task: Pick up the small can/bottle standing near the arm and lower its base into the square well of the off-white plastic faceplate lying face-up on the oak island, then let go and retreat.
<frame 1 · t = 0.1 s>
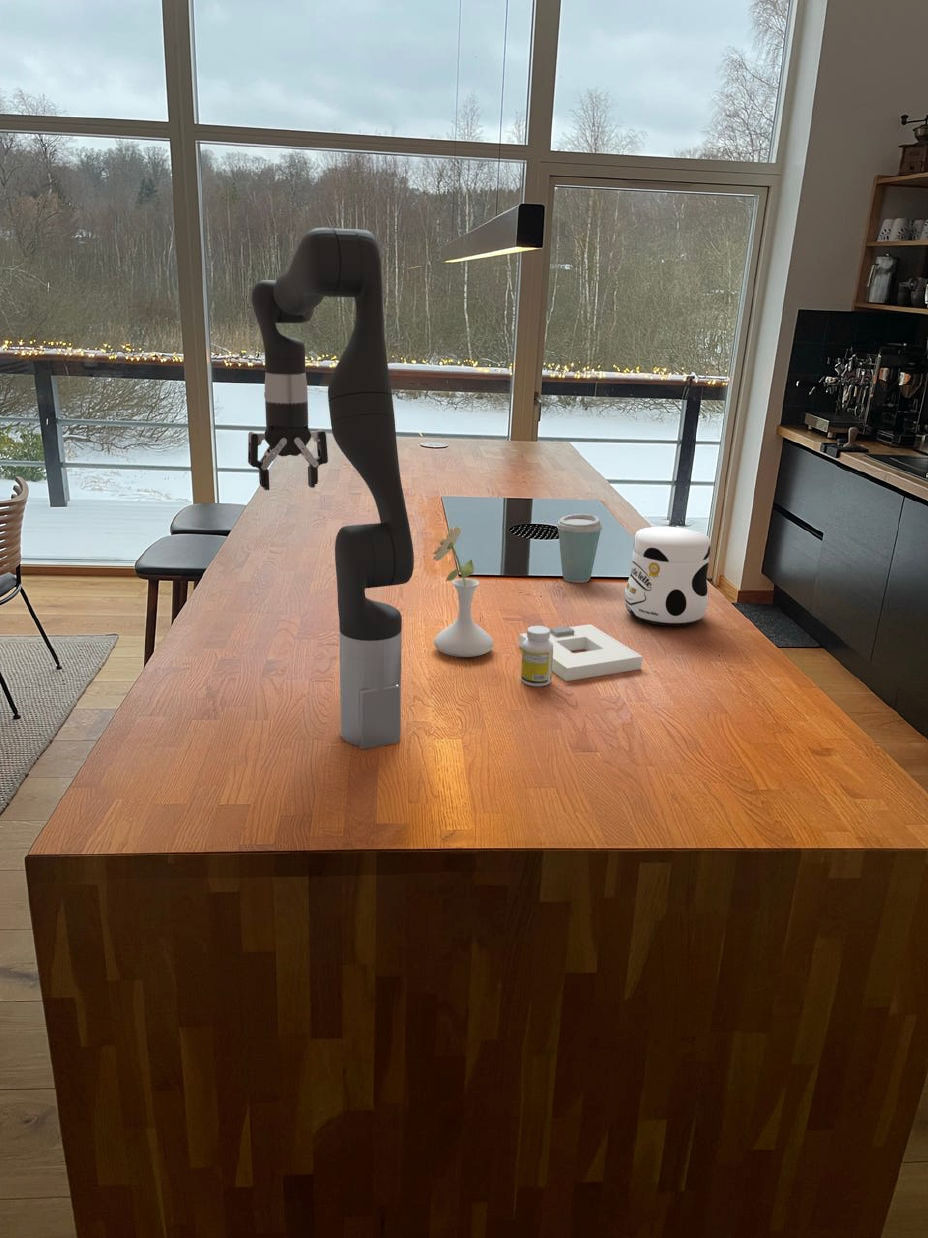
hand: (289, 488, 175), 29 cm above the countertop, fingers open, 8 cm apart
disposable coffee cup: (575, 579, 226), on the countertop
milk container: (663, 618, 202), on the countertop
supplement bottle: (535, 682, 168), on the countertop
flower in vase: (460, 653, 180), on the countertop
socket plate: (578, 657, 179), on the countertop
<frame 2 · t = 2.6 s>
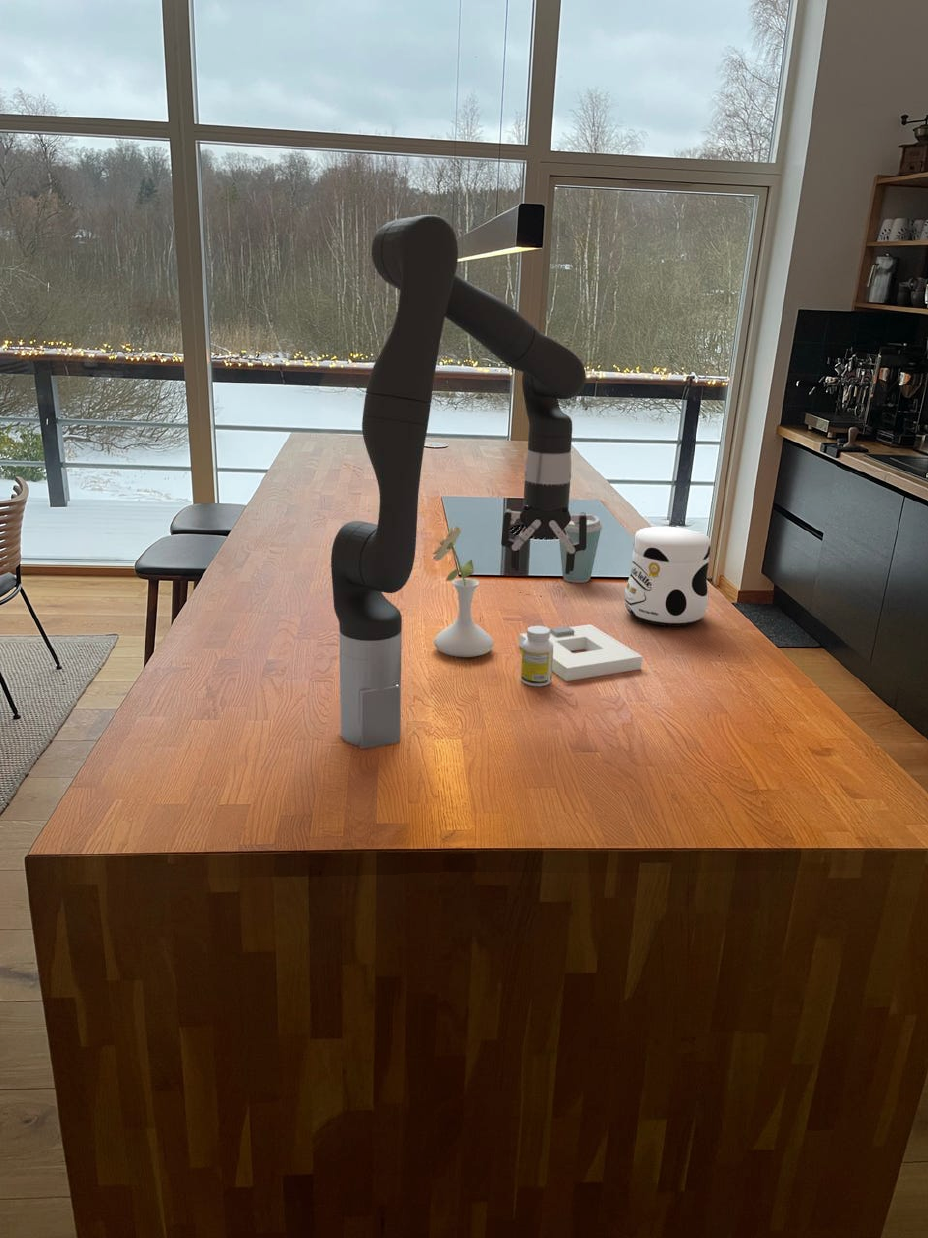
hand: (541, 571, 161), 20 cm above the countertop, fingers open, 8 cm apart
nothing on the countertop moved.
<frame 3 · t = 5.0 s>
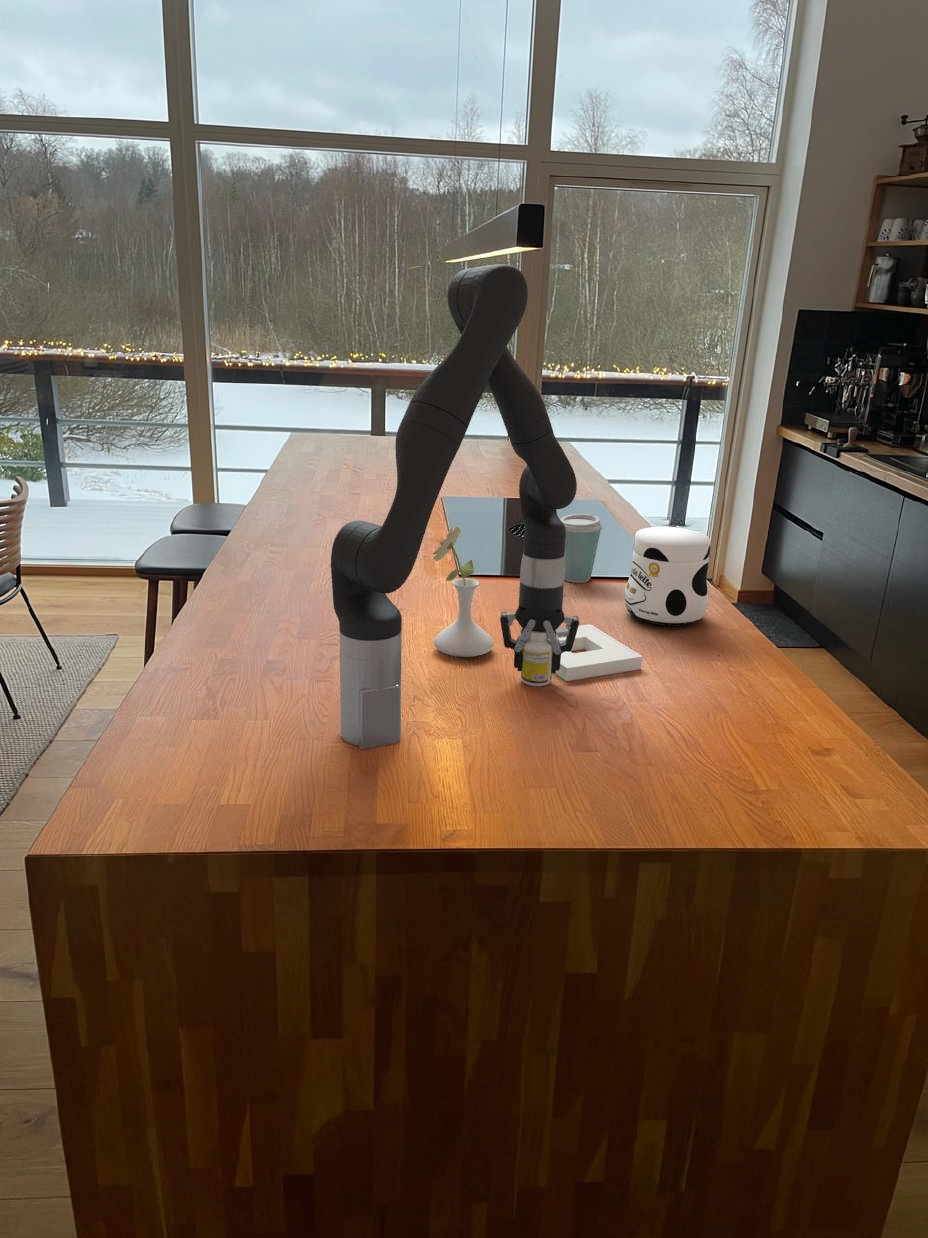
hand: (536, 670, 167), 2 cm above the countertop, fingers closed on supplement bottle, 5 cm apart
supplement bottle: (535, 682, 168), on the countertop, touching gripper
everything else where it was.
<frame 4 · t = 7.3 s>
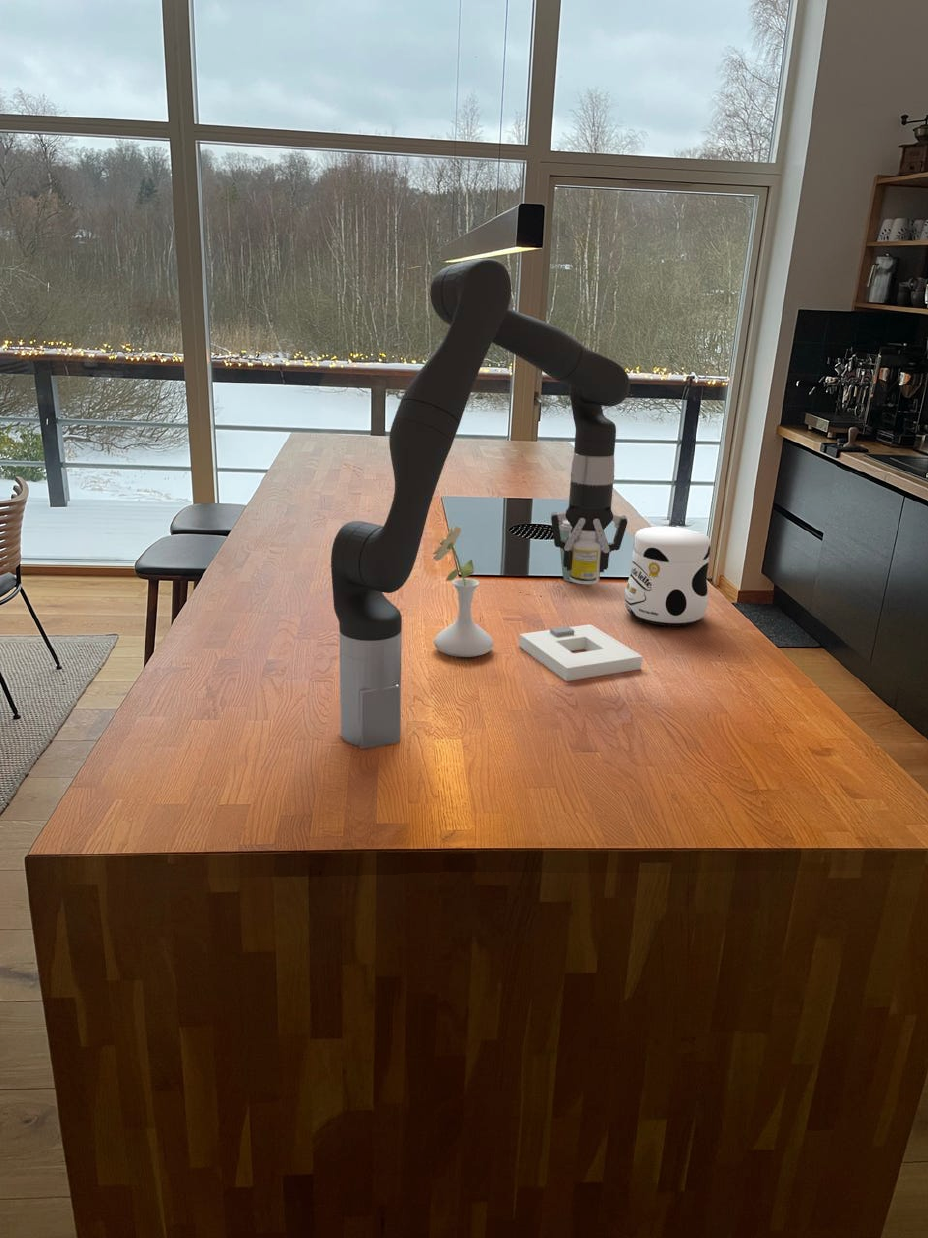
hand: (584, 570, 173), 17 cm above the countertop, fingers closed on supplement bottle, 5 cm apart
supplement bottle: (584, 581, 174), point 15 cm above the countertop, touching gripper
everything else where it was.
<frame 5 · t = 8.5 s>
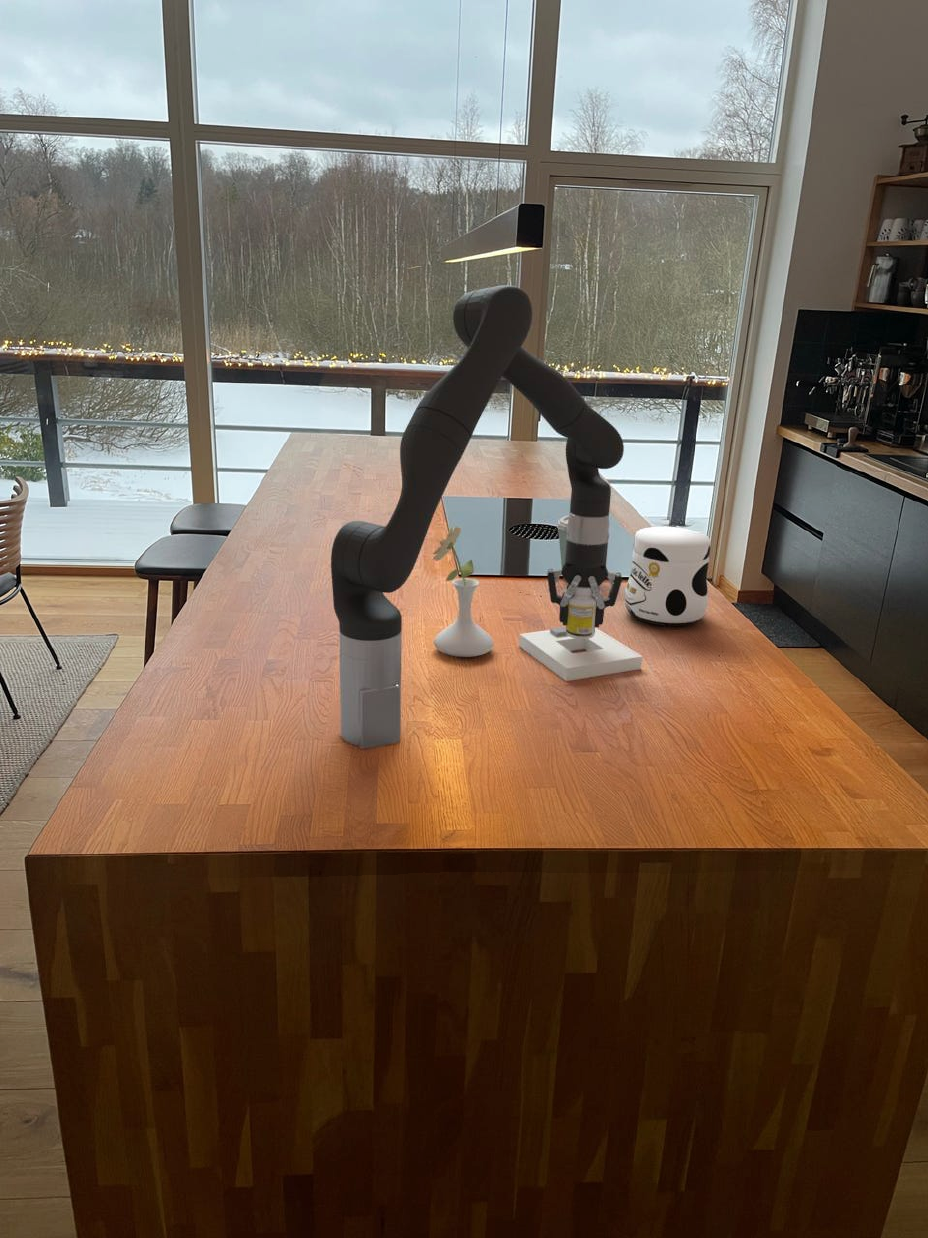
hand: (580, 624, 177), 7 cm above the countertop, fingers closed on supplement bottle, 5 cm apart
supplement bottle: (579, 635, 178), point 4 cm above the countertop, touching gripper
everything else where it was.
when the fingers open (4 cm above the countertop, at t = 9.6 s): supplement bottle drops 2 cm, resting in socket plate.
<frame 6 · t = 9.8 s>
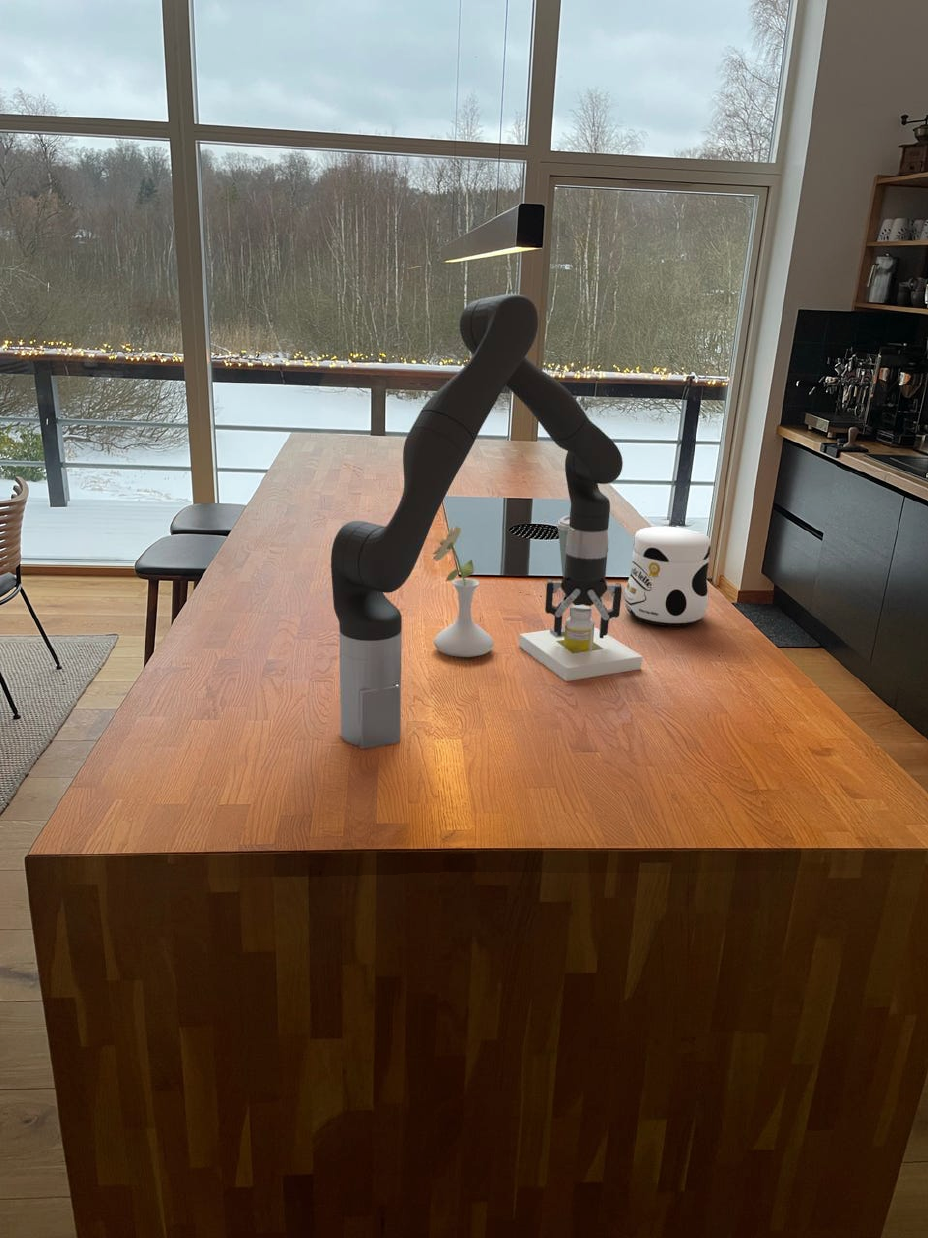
hand: (580, 635, 178), 4 cm above the countertop, fingers open, 7 cm apart
supplement bottle: (577, 658, 179), resting in socket plate
everything else where it was.
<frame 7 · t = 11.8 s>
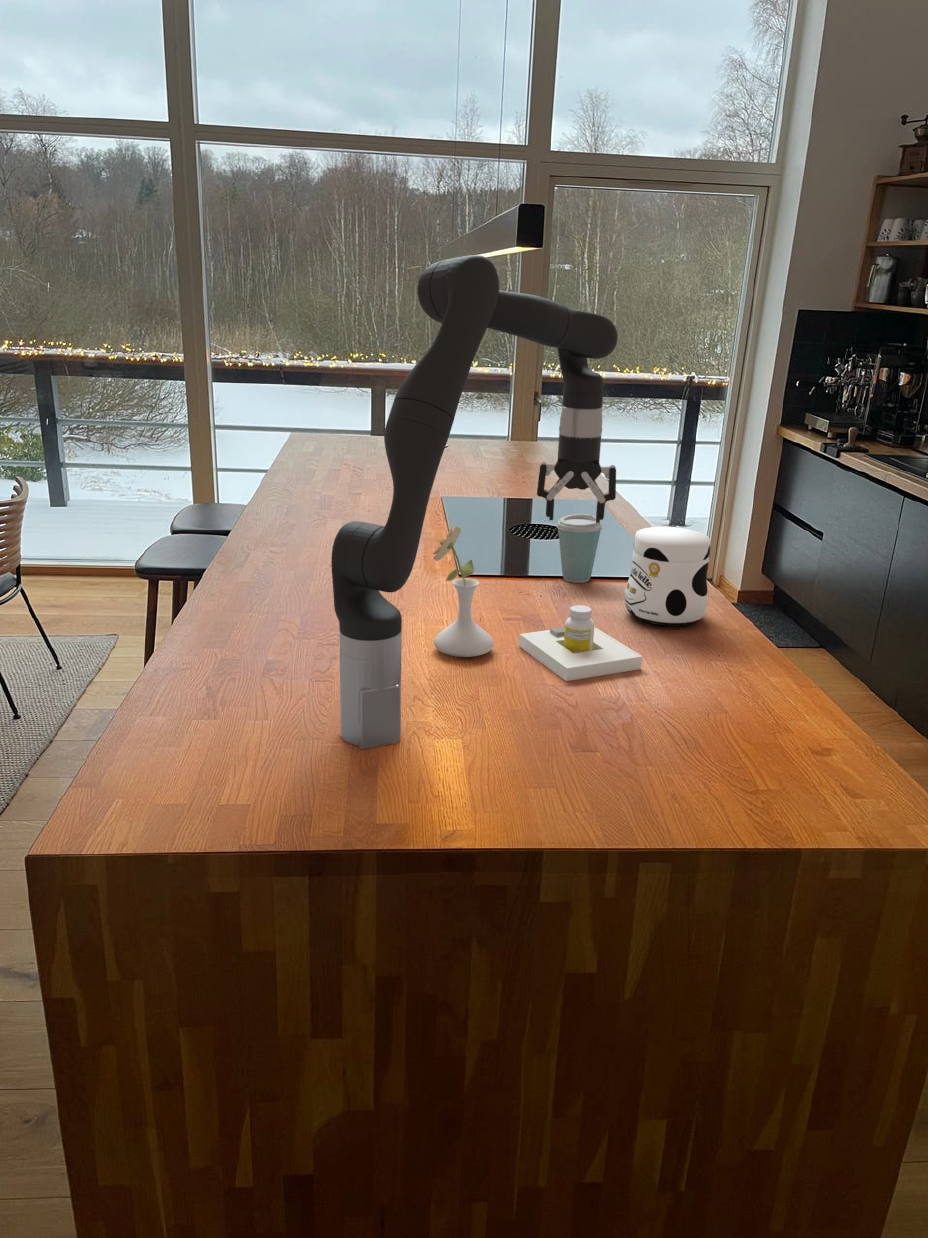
hand: (574, 520, 175), 25 cm above the countertop, fingers open, 8 cm apart
nothing on the countertop moved.
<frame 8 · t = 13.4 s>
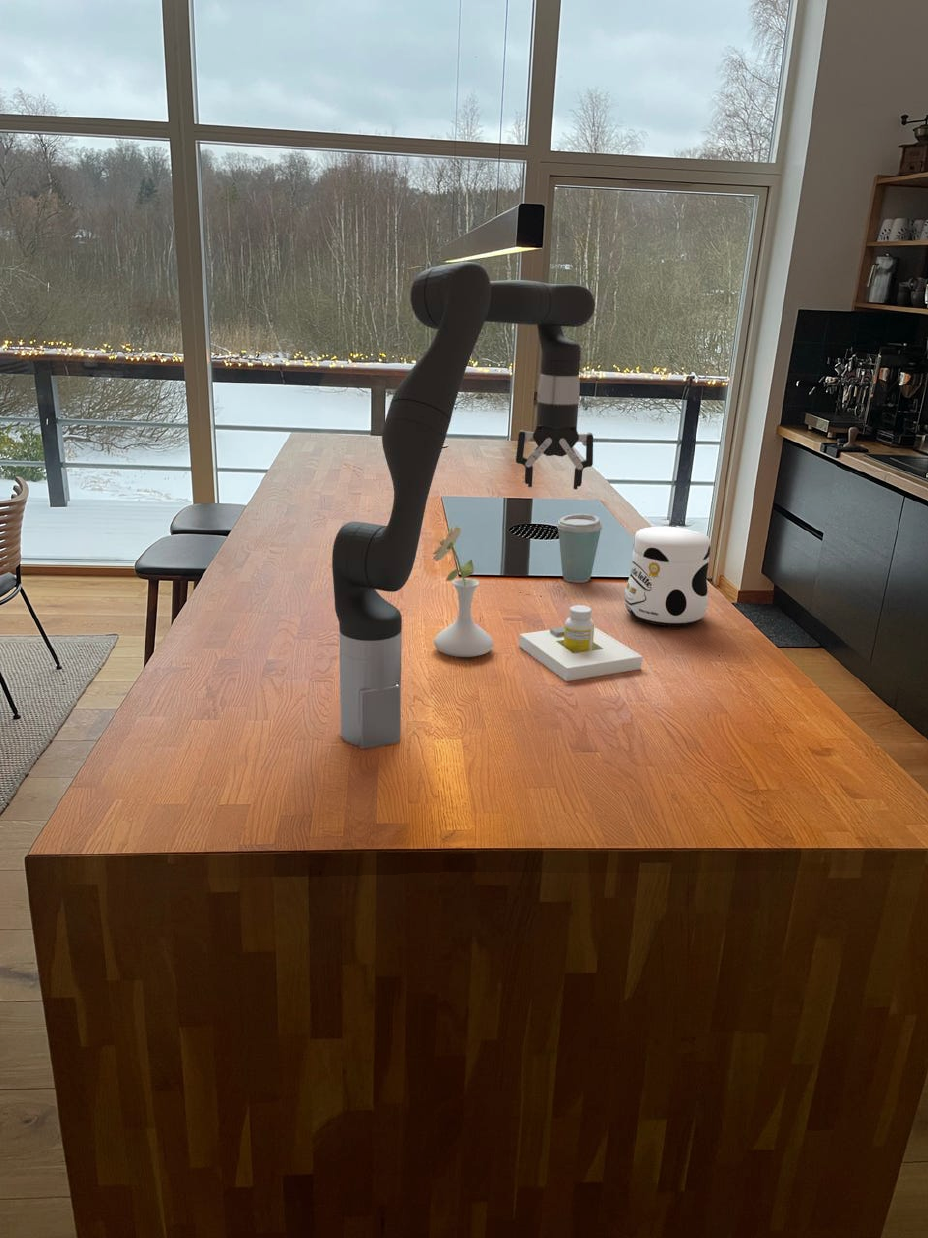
hand: (552, 487, 179), 30 cm above the countertop, fingers open, 8 cm apart
nothing on the countertop moved.
at the end: supplement bottle 0.2 cm off-centre on the socket plate, point 0.0 cm above the socket plate's base; supplement bottle tilted 0°; the gripper is holding nothing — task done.
